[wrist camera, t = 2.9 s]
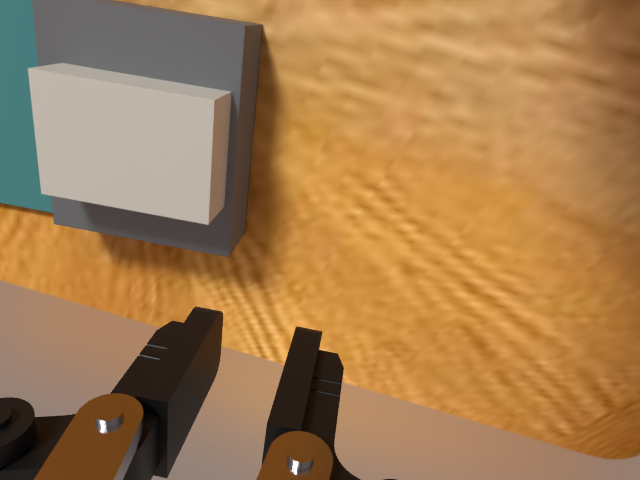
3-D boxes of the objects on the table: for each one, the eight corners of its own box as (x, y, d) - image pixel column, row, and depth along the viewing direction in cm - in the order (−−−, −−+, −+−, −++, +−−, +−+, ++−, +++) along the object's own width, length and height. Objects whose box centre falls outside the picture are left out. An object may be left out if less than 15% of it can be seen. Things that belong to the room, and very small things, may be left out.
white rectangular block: (231, 91, 28) (214, 100, 25) (224, 206, 31) (208, 224, 28) (62, 63, 28) (27, 67, 26) (71, 178, 31) (41, 193, 29)
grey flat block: (262, 24, 30) (244, 26, 26) (244, 232, 36) (228, 256, 32) (73, -7, 30) (30, -9, 27) (87, 203, 36) (53, 223, 33)
